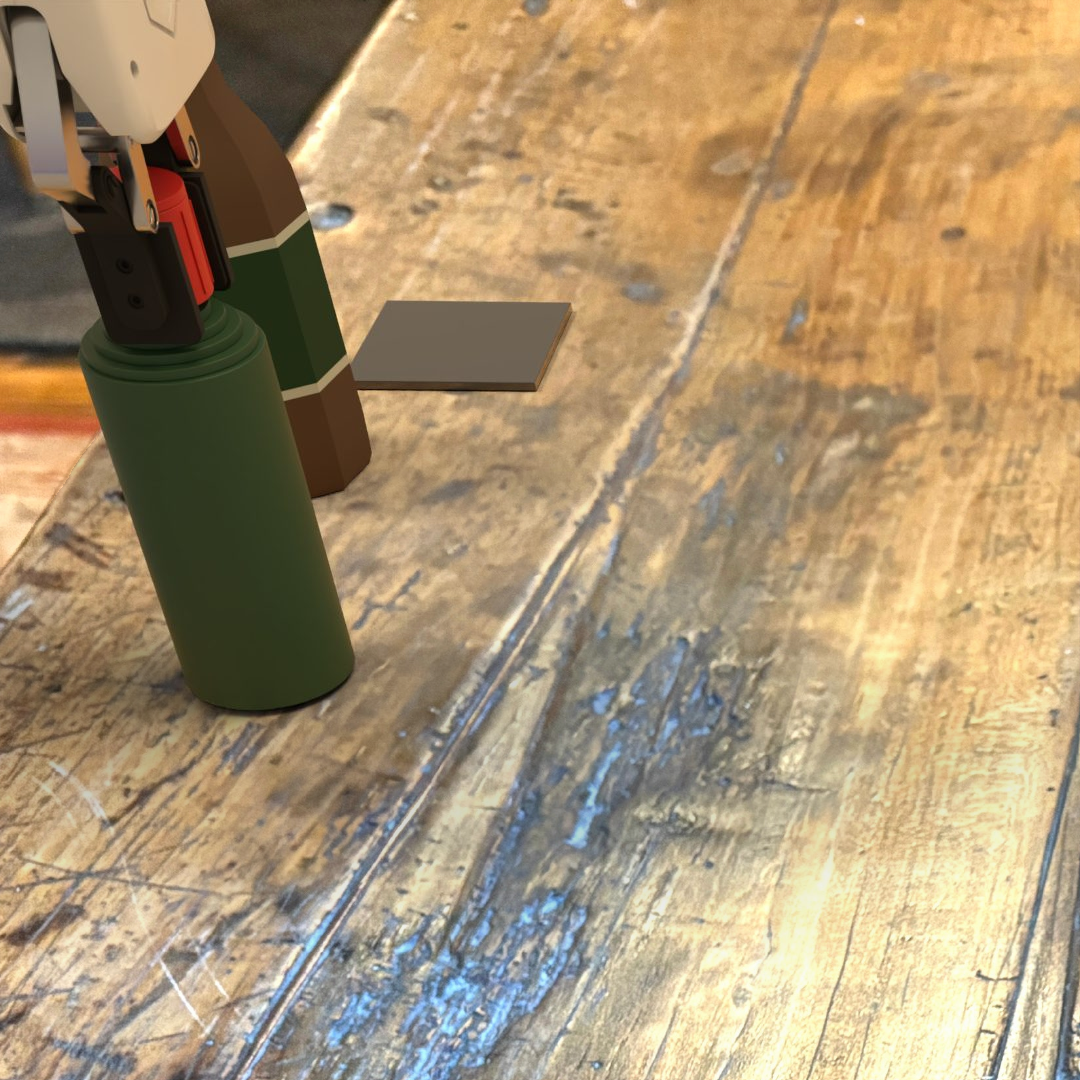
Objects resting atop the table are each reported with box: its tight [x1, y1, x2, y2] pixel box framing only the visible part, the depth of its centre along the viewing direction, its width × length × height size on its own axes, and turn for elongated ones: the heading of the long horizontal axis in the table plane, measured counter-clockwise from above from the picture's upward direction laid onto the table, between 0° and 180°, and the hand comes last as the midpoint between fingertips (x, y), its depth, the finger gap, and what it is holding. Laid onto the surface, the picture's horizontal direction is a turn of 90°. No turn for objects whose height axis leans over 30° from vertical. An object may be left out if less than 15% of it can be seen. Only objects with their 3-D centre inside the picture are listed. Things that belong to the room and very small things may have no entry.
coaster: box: [350, 299, 573, 392], centre depth 122 cm, size 9×9×1 cm
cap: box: [109, 166, 214, 305], centre depth 89 cm, size 4×4×4 cm
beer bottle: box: [97, 55, 373, 499], centre depth 105 cm, size 8×8×24 cm
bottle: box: [77, 296, 356, 711], centre depth 95 cm, size 6×6×18 cm
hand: (173, 308), depth 91 cm, fingers closed on cap, 3 cm apart
